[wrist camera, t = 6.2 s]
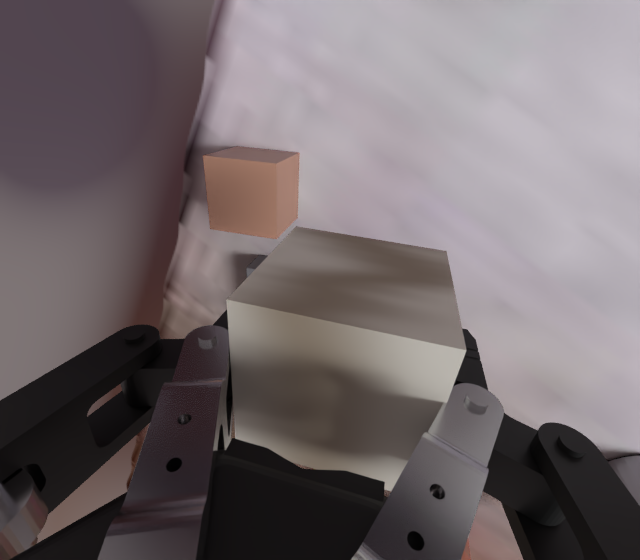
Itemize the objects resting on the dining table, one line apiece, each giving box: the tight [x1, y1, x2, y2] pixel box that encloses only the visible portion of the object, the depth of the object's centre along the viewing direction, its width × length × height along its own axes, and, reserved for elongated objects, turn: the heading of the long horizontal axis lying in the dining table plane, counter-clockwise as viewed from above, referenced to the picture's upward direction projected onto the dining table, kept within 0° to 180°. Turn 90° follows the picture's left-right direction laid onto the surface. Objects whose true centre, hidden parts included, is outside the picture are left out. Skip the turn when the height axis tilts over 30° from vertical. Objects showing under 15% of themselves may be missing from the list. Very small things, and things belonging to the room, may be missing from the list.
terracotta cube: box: [203, 146, 299, 239], centre depth 27 cm, size 6×6×6 cm
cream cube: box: [226, 226, 467, 491], centre depth 11 cm, size 6×6×6 cm
